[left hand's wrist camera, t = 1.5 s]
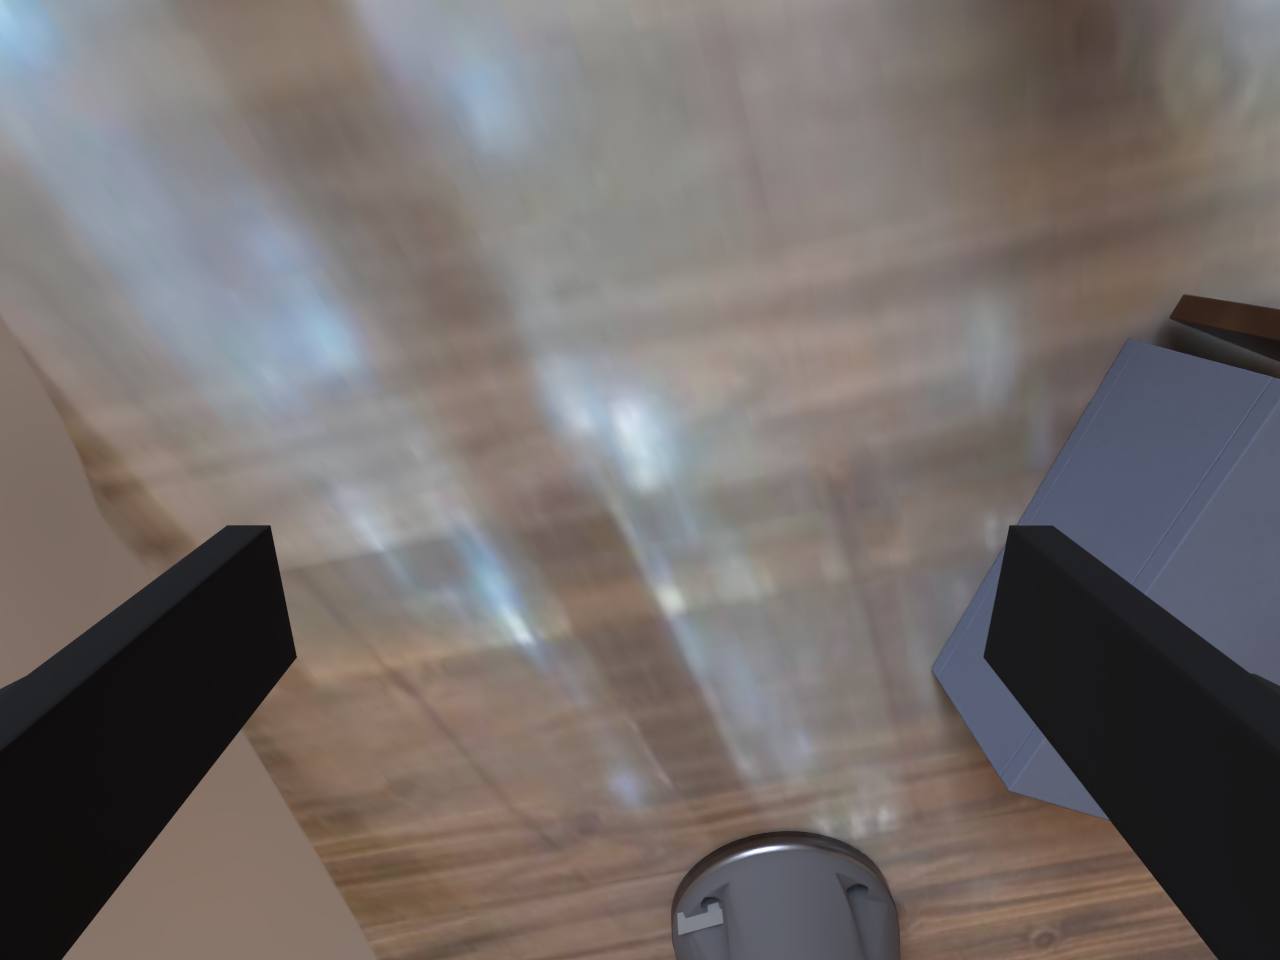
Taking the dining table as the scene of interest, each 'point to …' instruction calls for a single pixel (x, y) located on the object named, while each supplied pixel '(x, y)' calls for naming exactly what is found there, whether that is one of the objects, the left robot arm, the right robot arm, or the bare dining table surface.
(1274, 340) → the drawer
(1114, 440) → the cabinet
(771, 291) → the dining table surface
